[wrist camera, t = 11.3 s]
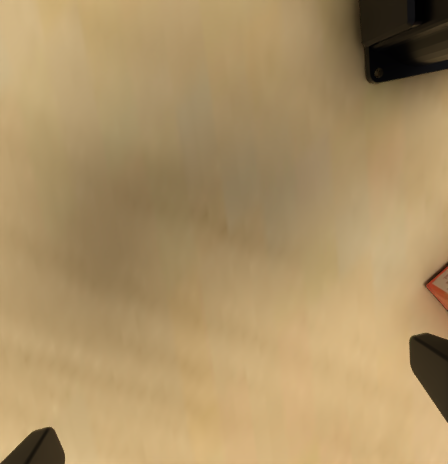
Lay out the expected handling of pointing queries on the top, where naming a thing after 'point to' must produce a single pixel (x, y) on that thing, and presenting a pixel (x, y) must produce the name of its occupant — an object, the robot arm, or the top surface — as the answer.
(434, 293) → the cracker box
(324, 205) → the top surface
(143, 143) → the top surface
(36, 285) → the top surface
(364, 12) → the robot arm
